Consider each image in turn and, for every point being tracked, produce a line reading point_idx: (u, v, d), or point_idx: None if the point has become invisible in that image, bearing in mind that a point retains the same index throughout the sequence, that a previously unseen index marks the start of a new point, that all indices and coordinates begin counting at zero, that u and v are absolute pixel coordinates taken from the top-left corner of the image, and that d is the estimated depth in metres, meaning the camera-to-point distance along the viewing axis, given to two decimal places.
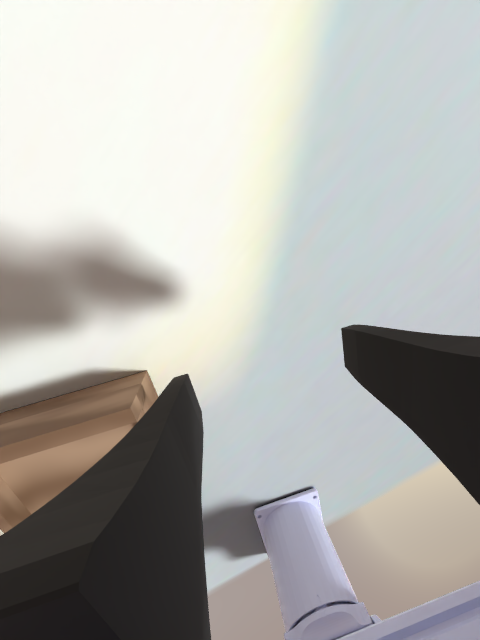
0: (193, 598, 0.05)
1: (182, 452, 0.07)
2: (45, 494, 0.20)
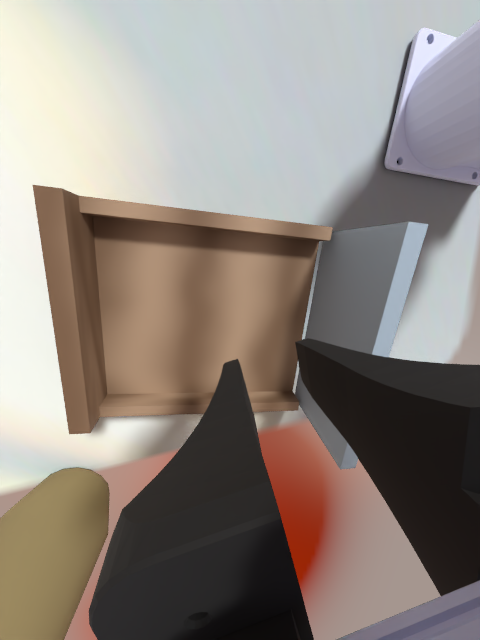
0: None
1: None
2: (196, 370, 0.18)
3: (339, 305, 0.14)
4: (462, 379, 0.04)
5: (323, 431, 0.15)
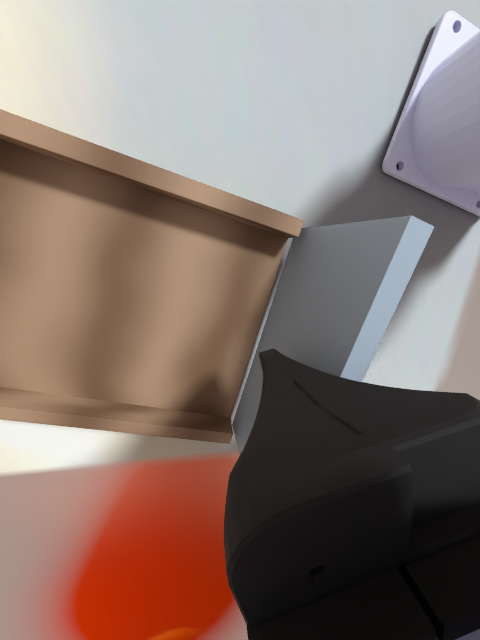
0: None
1: None
2: (106, 371, 0.14)
3: (299, 321, 0.11)
4: (380, 406, 0.04)
5: None
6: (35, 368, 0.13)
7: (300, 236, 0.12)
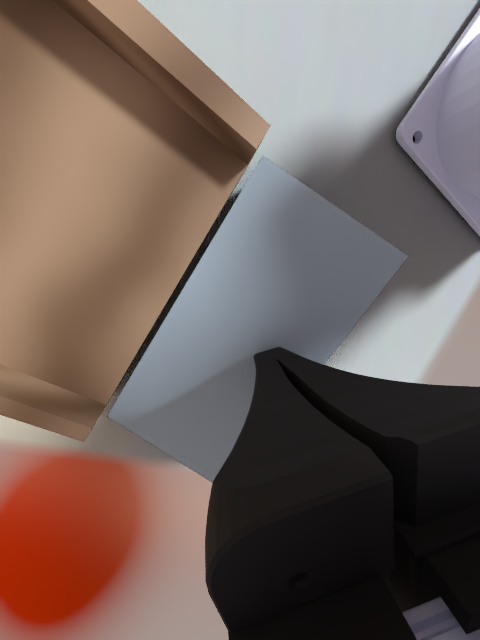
0: None
1: None
2: None
3: (272, 301, 0.10)
4: (398, 400, 0.04)
5: (195, 458, 0.11)
6: None
7: (272, 176, 0.09)
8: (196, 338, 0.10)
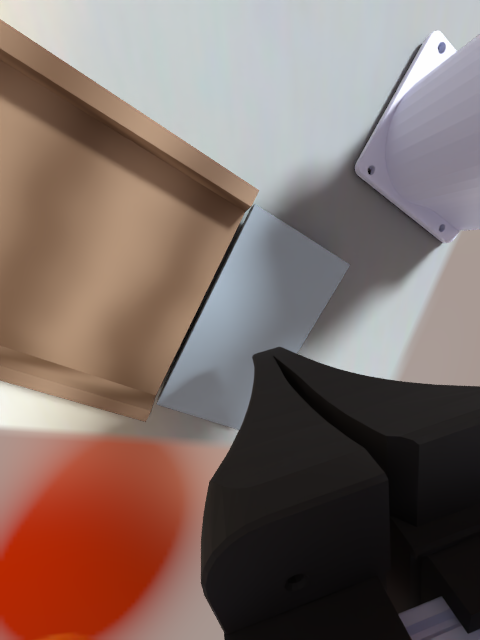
0: None
1: None
2: (17, 315, 0.12)
3: (270, 304, 0.14)
4: (399, 400, 0.04)
5: (226, 417, 0.16)
6: None
7: (263, 218, 0.13)
8: (219, 337, 0.14)
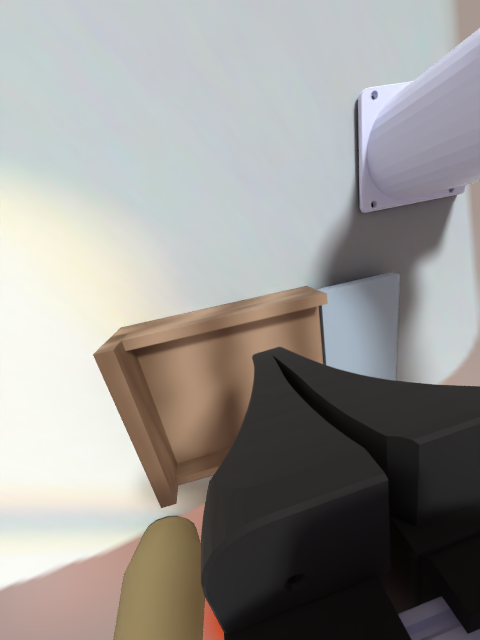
0: None
1: None
2: None
3: (362, 332, 0.20)
4: (399, 400, 0.04)
5: None
6: (203, 442, 0.21)
7: (330, 294, 0.18)
8: (343, 369, 0.21)
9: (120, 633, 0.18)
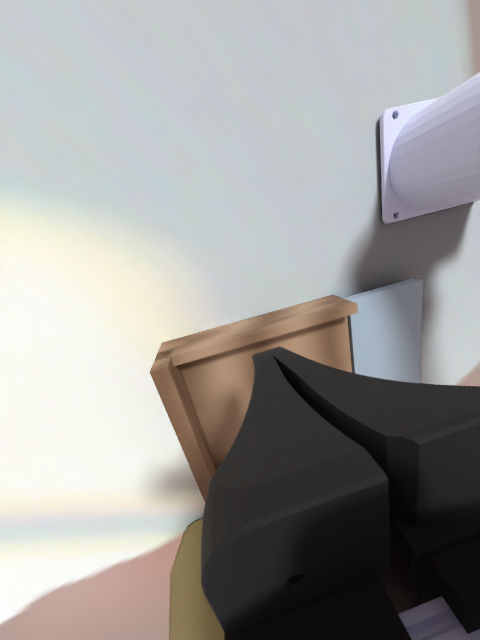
0: None
1: None
2: None
3: (388, 336, 0.21)
4: (399, 400, 0.04)
5: None
6: None
7: (357, 303, 0.19)
8: (371, 372, 0.22)
9: (176, 626, 0.19)
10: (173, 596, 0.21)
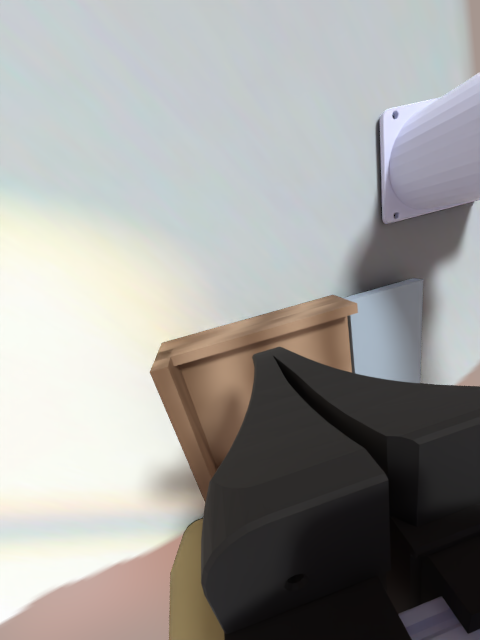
0: None
1: None
2: None
3: (388, 336, 0.21)
4: (399, 400, 0.04)
5: None
6: None
7: (357, 303, 0.19)
8: (371, 372, 0.22)
9: (176, 626, 0.19)
10: (173, 596, 0.21)
